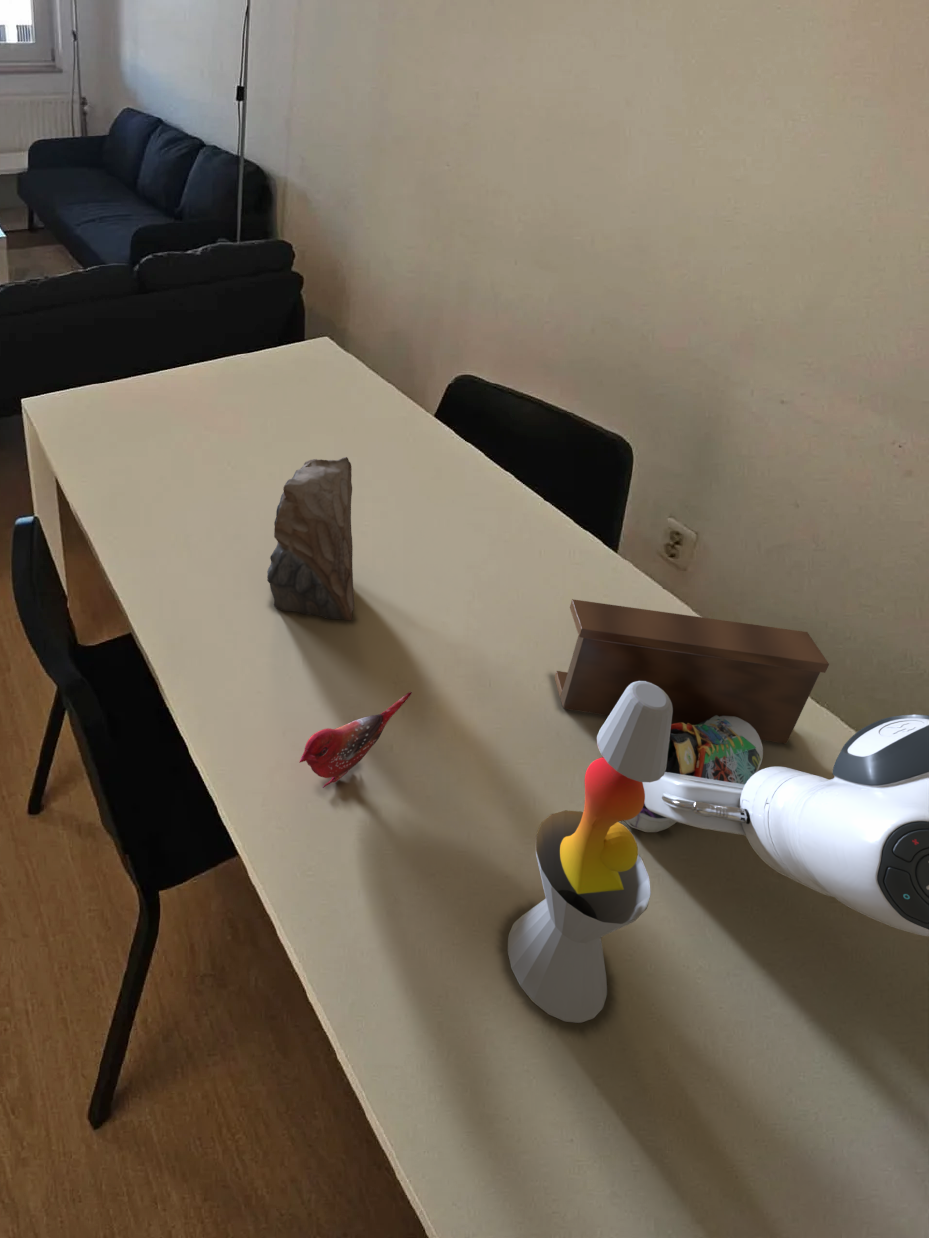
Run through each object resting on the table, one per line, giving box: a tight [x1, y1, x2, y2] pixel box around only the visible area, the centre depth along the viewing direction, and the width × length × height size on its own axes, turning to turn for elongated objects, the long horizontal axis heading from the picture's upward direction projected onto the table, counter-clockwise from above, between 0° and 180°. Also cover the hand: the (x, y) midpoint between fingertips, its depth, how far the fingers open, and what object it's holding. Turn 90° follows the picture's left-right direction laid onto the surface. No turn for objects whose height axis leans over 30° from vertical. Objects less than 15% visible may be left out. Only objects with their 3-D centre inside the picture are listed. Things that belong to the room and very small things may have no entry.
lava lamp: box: [507, 681, 673, 1024], centre depth 63 cm, size 9×9×35 cm
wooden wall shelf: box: [554, 598, 830, 745], centre depth 93 cm, size 27×5×13 cm, turn 81°
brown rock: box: [266, 456, 355, 621], centre depth 110 cm, size 13×13×20 cm
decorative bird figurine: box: [299, 691, 413, 789], centre depth 86 cm, size 3×18×10 cm, turn 126°
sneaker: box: [624, 715, 764, 833], centre depth 85 cm, size 8×21×10 cm, turn 116°
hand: (719, 794), depth 81 cm, fingers closed
